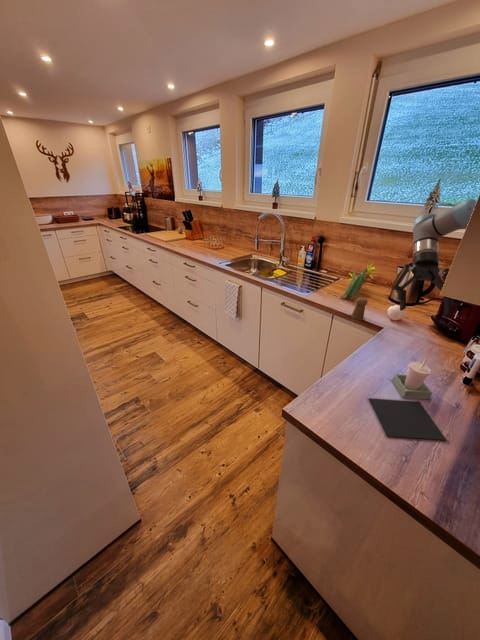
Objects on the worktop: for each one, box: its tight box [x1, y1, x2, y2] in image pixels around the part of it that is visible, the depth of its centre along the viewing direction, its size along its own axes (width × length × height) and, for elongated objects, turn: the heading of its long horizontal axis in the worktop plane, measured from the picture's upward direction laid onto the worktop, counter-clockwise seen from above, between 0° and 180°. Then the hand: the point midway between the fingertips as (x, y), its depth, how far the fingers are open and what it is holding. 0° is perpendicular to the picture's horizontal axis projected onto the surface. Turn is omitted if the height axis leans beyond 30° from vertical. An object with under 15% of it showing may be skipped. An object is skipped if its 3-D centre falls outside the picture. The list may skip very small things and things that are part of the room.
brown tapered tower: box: [350, 296, 368, 322], centre depth 133 cm, size 6×6×11 cm
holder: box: [391, 373, 433, 400], centre depth 90 cm, size 8×8×3 cm
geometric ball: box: [386, 304, 406, 321], centre depth 134 cm, size 8×8×8 cm
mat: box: [368, 398, 447, 442], centre depth 79 cm, size 16×14×1 cm
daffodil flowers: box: [341, 261, 376, 301], centre depth 164 cm, size 17×15×35 cm
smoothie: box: [403, 357, 432, 391], centre depth 87 cm, size 6×6×14 cm
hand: (424, 312), depth 88 cm, fingers open, 13 cm apart
